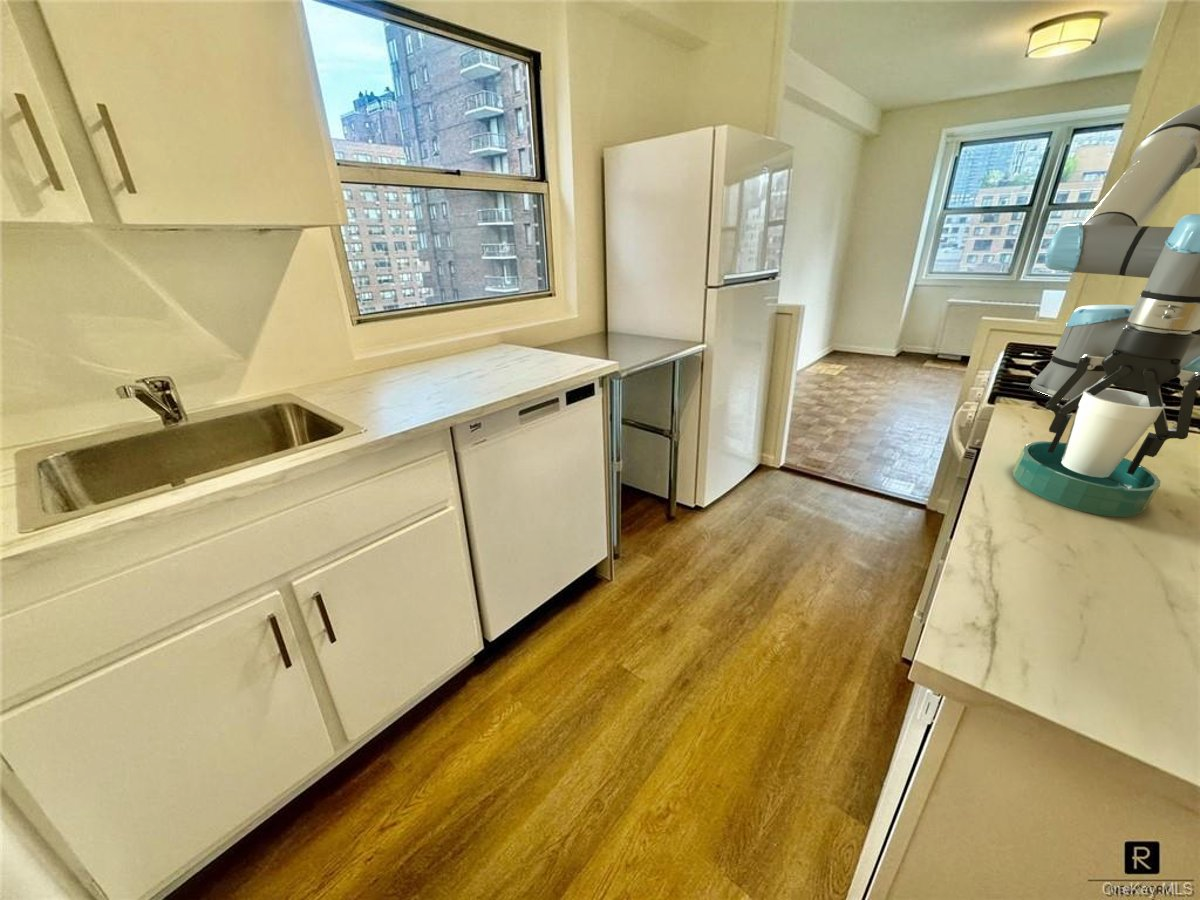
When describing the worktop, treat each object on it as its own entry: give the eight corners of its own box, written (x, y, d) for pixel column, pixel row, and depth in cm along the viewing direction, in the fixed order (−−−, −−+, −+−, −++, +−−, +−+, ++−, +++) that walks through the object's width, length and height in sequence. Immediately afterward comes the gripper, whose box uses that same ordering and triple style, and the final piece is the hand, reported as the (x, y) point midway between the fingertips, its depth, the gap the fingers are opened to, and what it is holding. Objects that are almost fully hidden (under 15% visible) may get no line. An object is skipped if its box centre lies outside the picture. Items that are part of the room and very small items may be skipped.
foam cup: (1037, 461, 85) (1071, 391, 79) (1067, 451, 88) (1102, 384, 83) (1105, 487, 77) (1147, 412, 72) (1135, 475, 81) (1178, 403, 75)
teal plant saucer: (1023, 456, 96) (1034, 433, 93) (1147, 490, 84) (1162, 465, 82) (1002, 486, 85) (1013, 461, 83) (1140, 530, 74) (1157, 503, 72)
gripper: (1059, 319, 77) (1005, 445, 87) (1280, 347, 62) (1183, 494, 73) (1067, 313, 82) (1014, 433, 92) (1275, 338, 67) (1184, 477, 77)
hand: (1089, 460), depth 82 cm, fingers closed on foam cup, 9 cm apart
